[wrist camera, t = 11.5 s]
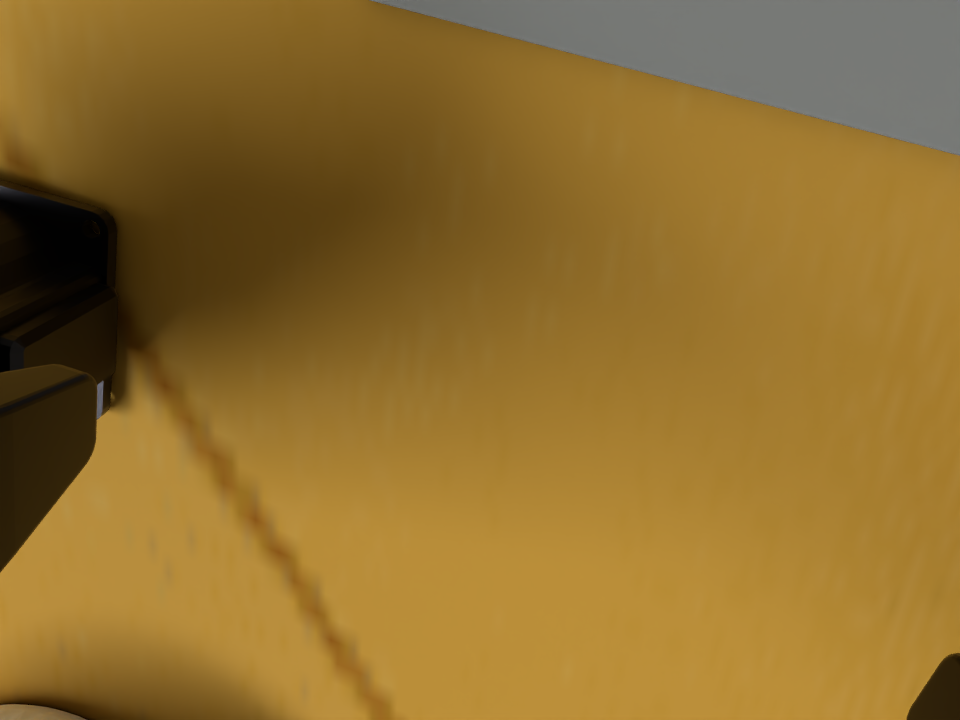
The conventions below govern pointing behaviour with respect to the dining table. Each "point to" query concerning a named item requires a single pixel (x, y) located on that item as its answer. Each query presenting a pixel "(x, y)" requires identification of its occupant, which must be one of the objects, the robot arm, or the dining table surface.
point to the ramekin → (34, 713)
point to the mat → (763, 51)
